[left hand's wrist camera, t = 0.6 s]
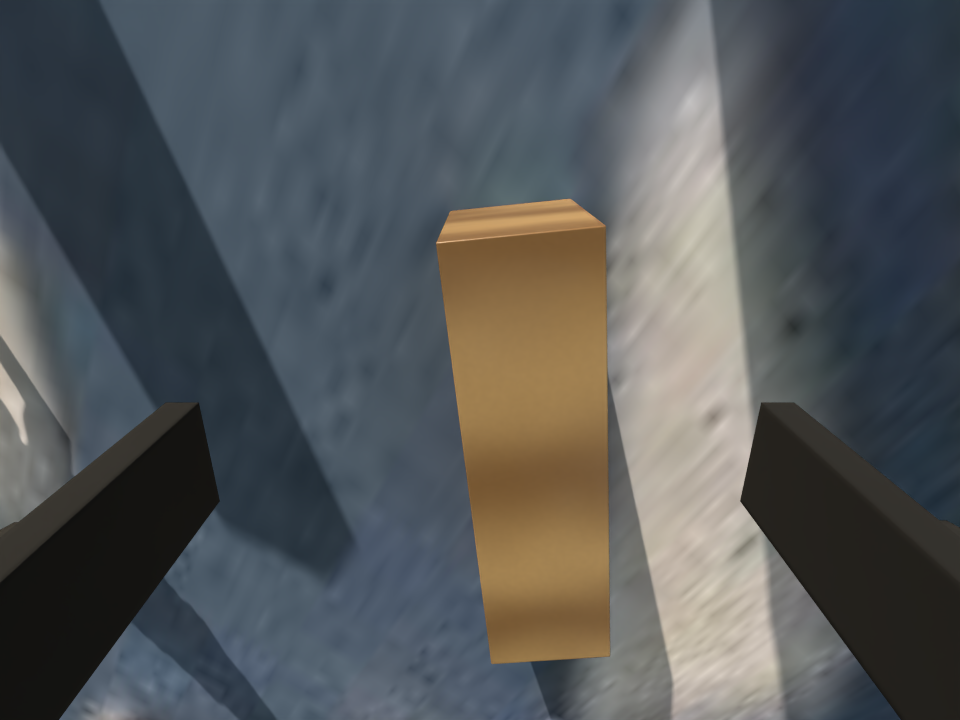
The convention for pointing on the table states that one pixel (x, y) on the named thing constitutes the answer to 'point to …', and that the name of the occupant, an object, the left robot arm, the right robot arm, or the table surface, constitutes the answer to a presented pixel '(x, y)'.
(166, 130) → the table surface
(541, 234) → the box
